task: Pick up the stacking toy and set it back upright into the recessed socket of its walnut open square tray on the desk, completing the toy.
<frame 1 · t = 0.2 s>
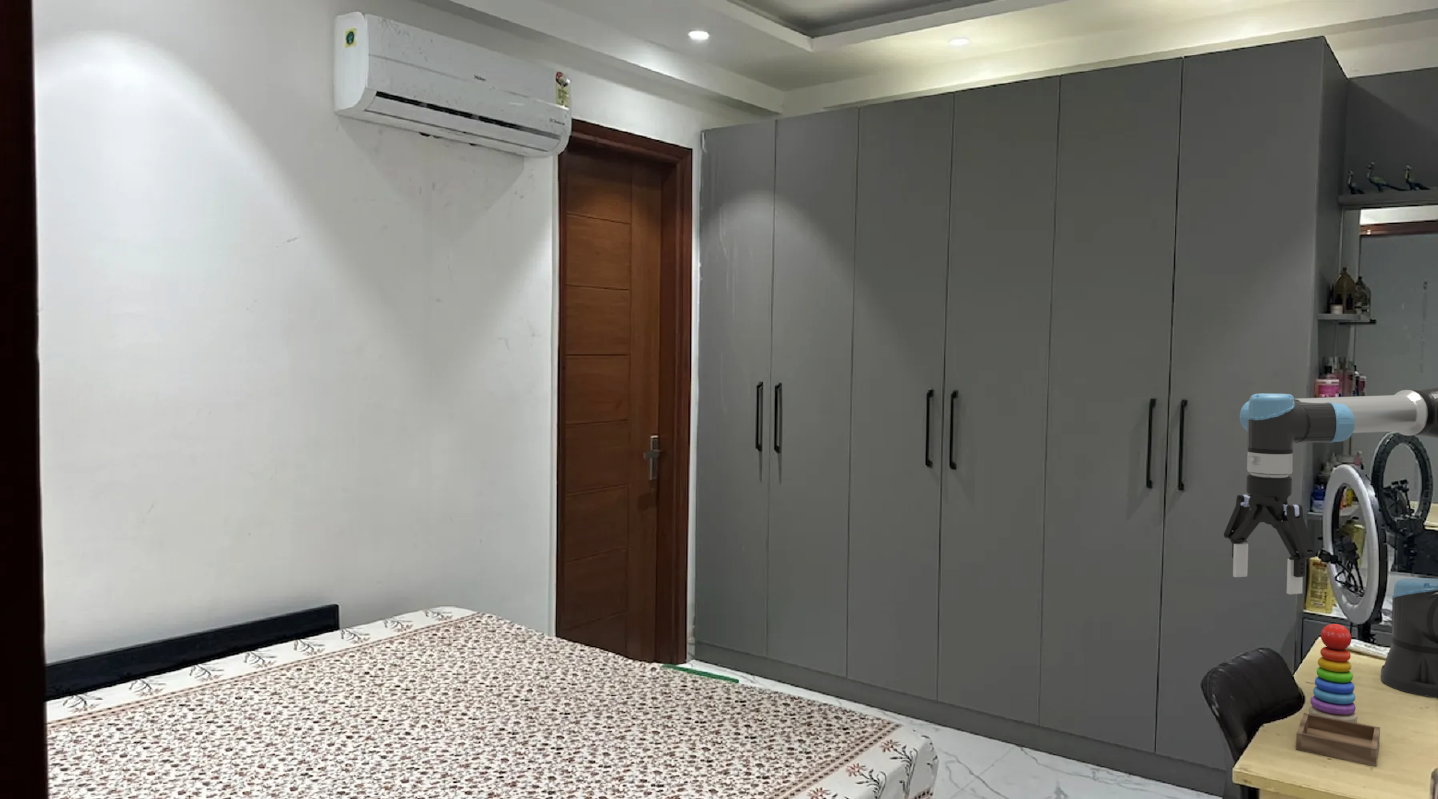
hand: (1266, 584, 186), 27 cm above the table, fingers open, 13 cm apart
stacking toy: (1332, 720, 190), on the table
walnut open square tray: (1338, 746, 177), on the table
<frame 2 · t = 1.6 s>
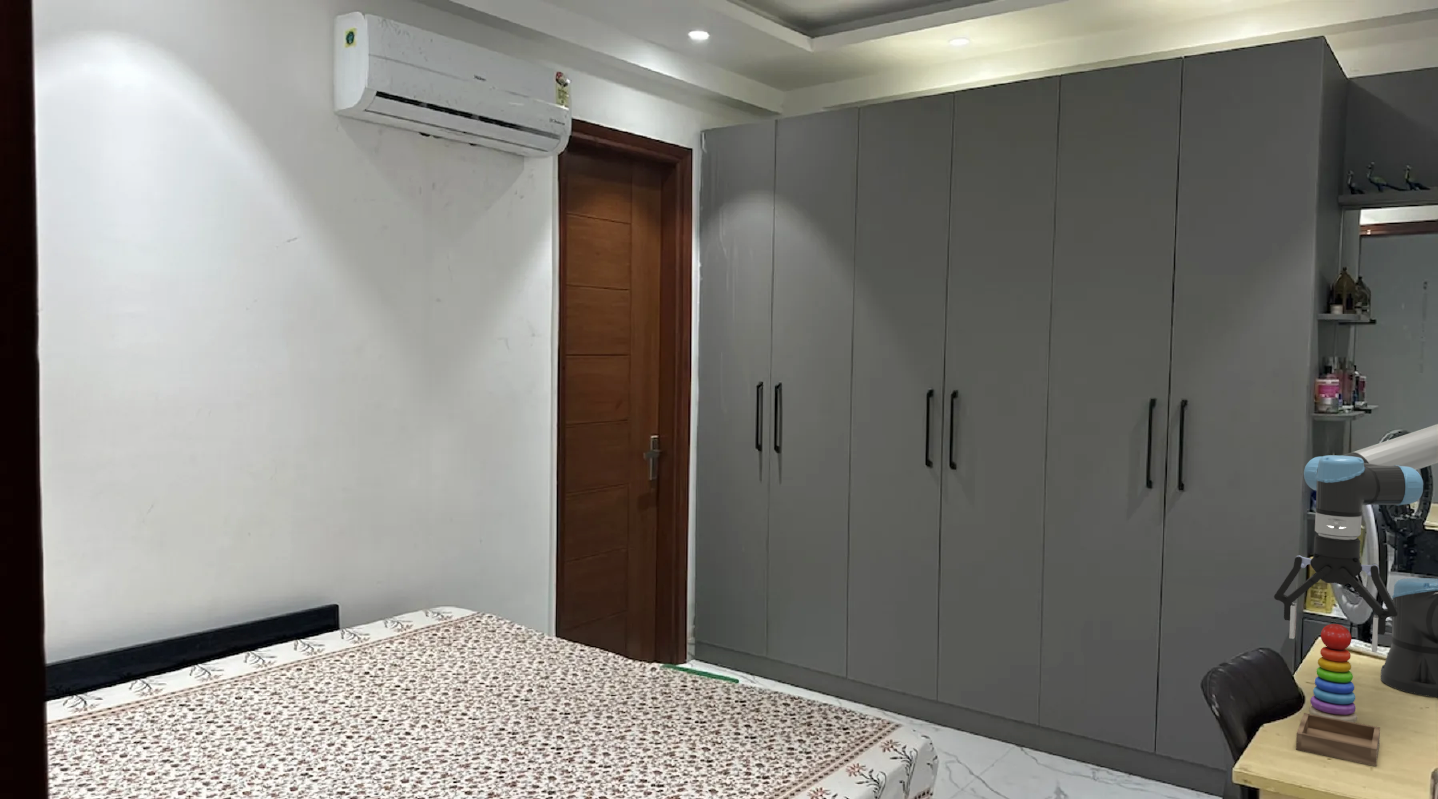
hand: (1332, 643, 190), 15 cm above the table, fingers open, 13 cm apart
nothing on the table moved.
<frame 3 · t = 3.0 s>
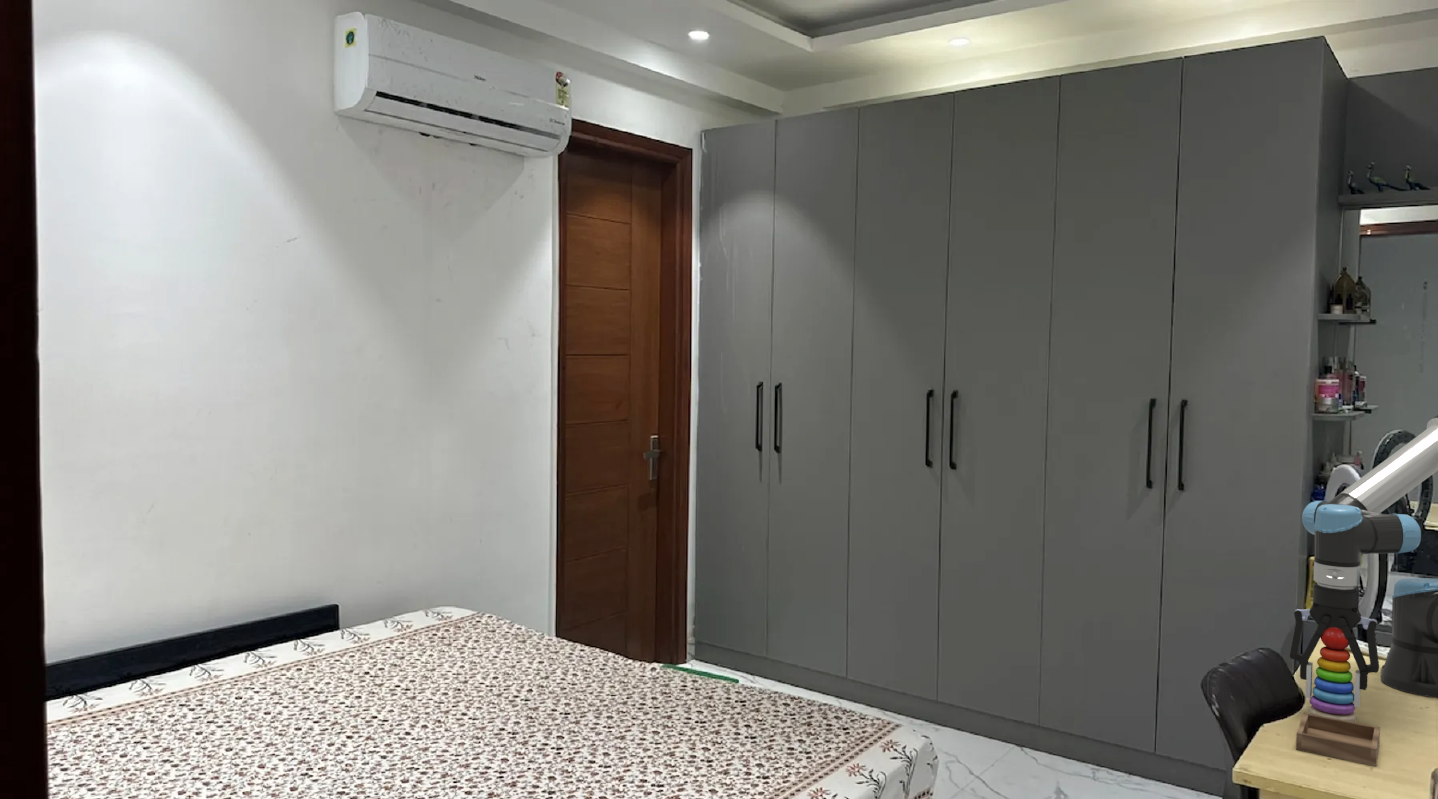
hand: (1332, 700, 190), 4 cm above the table, fingers closed on stacking toy, 7 cm apart
stacking toy: (1332, 720, 190), on the table, touching gripper
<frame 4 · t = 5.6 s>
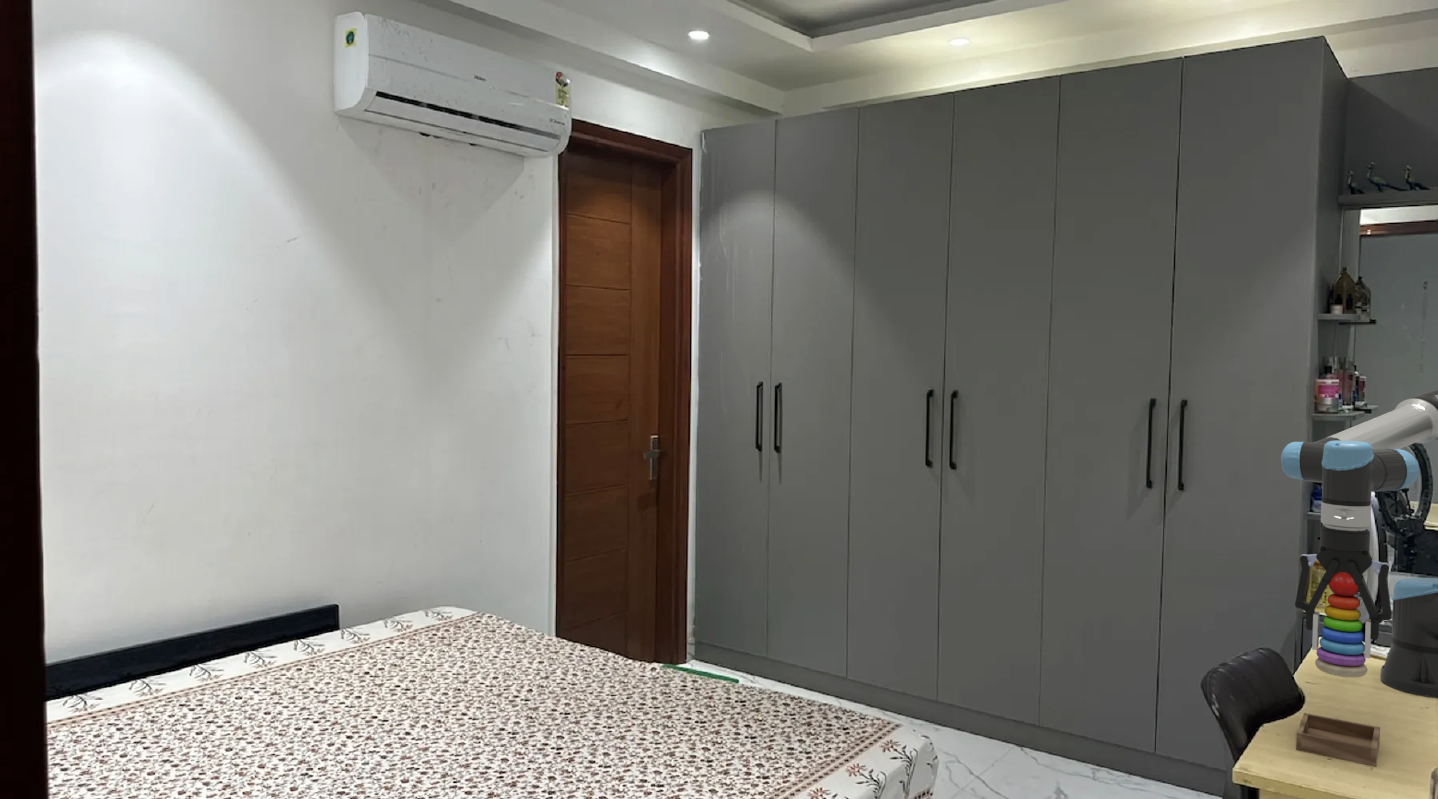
hand: (1341, 651, 176), 18 cm above the table, fingers closed on stacking toy, 7 cm apart
stacking toy: (1340, 673, 176), point 14 cm above the table, touching gripper
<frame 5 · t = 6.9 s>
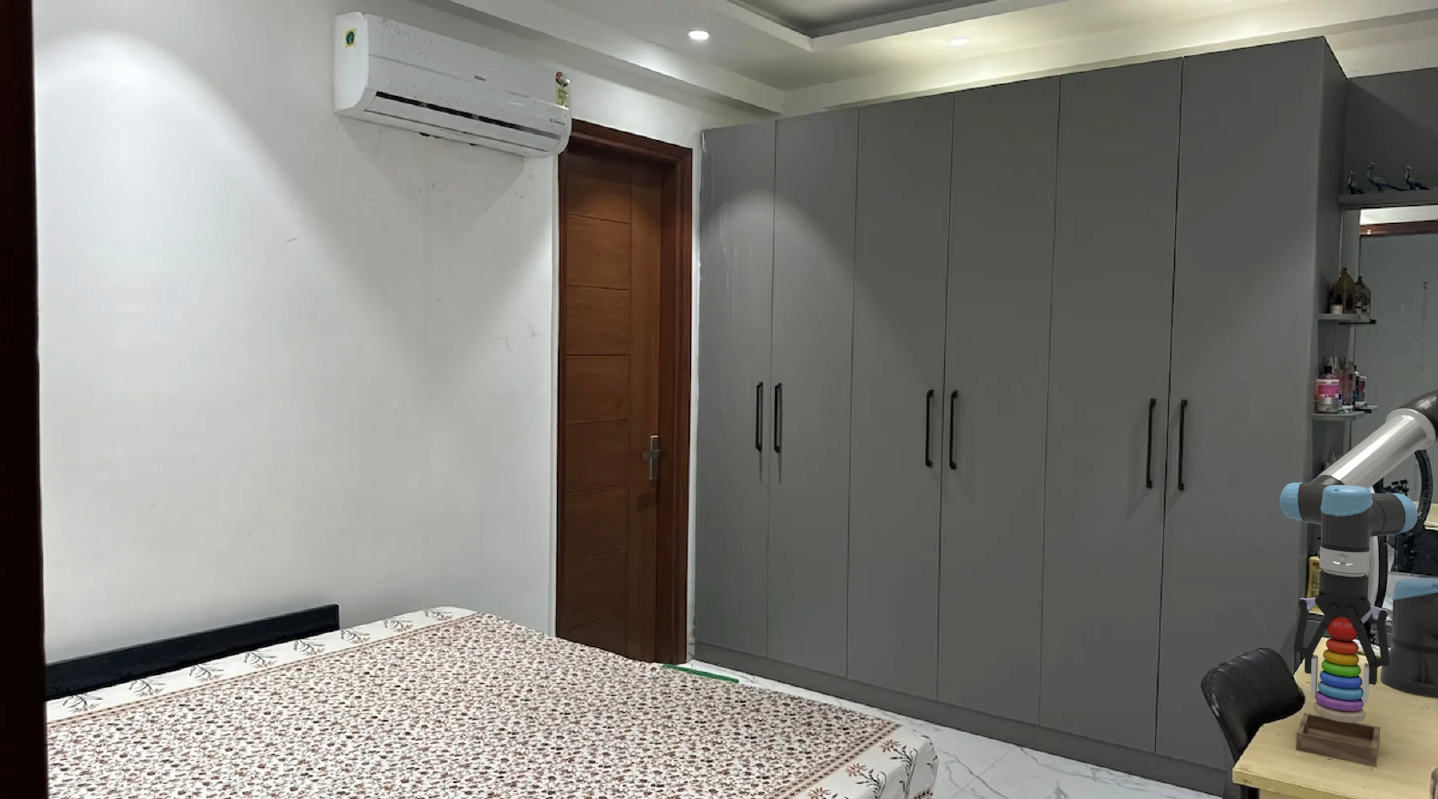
hand: (1339, 696, 177), 9 cm above the table, fingers closed on stacking toy, 7 cm apart
stacking toy: (1338, 717, 177), point 6 cm above the table, touching gripper
when the fingers open (5 cm above the table, at t = 8.1 s): stacking toy stays where it is, resting on walnut open square tray.
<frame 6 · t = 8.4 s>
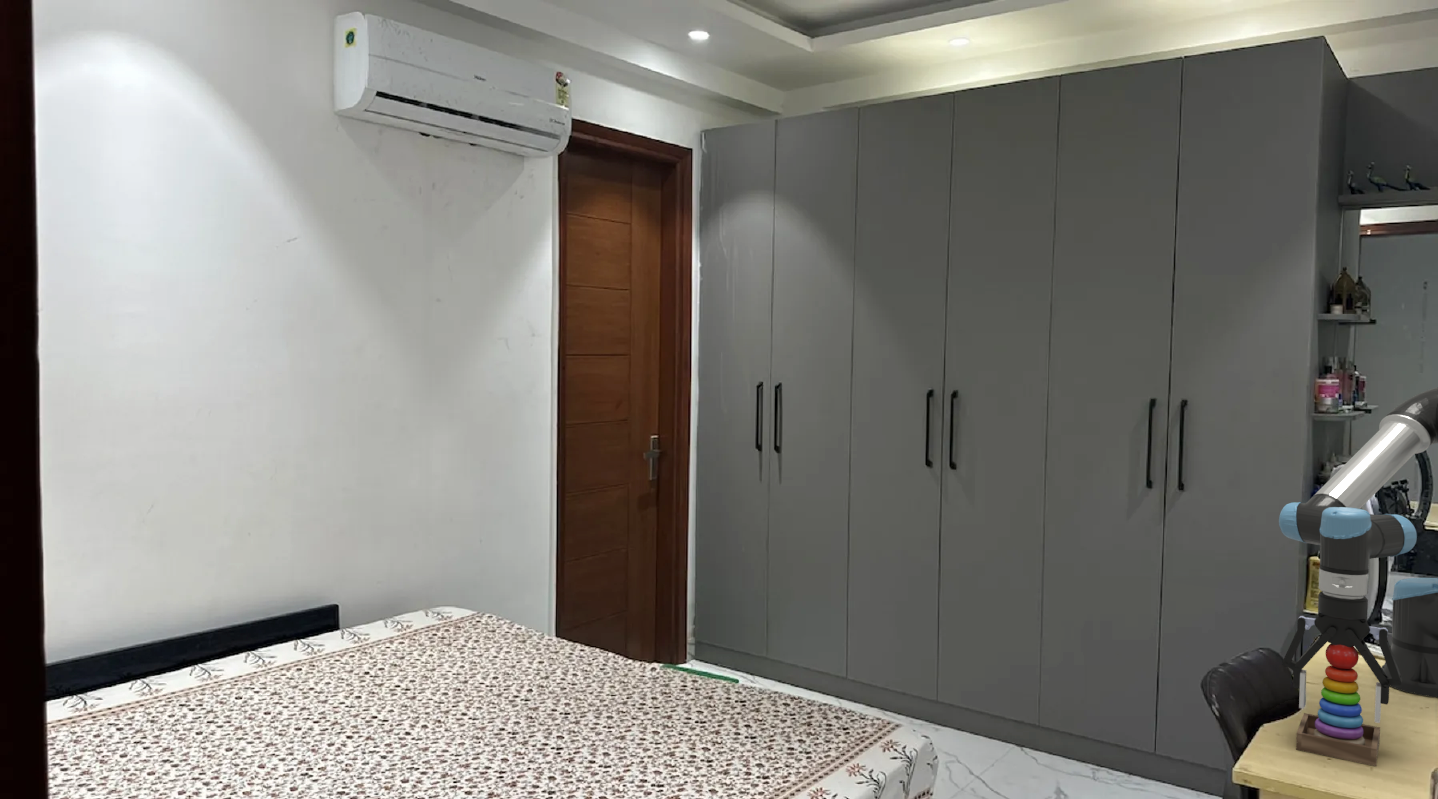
hand: (1339, 713, 177), 6 cm above the table, fingers open, 11 cm apart
stacking toy: (1338, 744, 177), resting on walnut open square tray
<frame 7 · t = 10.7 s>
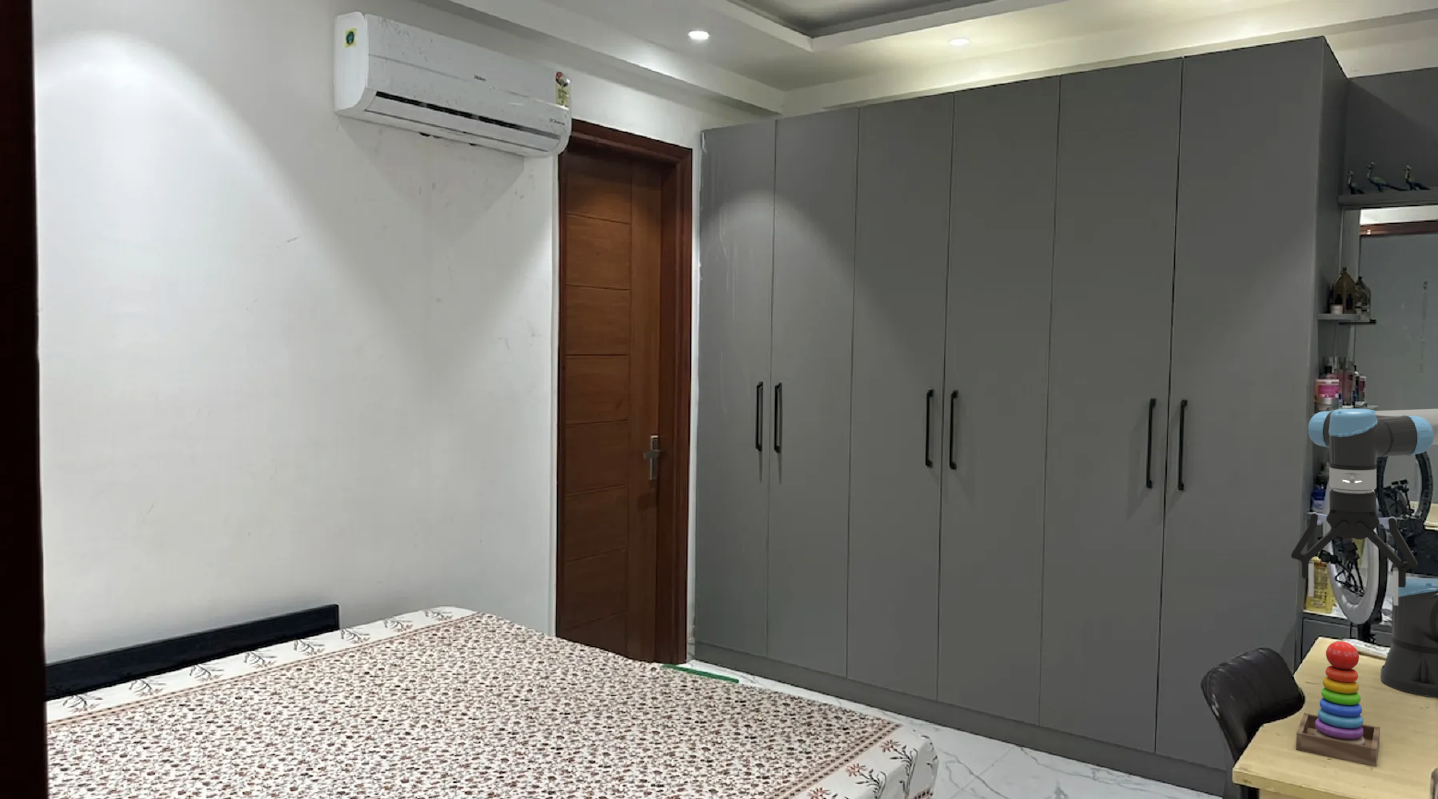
hand: (1352, 599, 187), 24 cm above the table, fingers open, 13 cm apart
nothing on the table moved.
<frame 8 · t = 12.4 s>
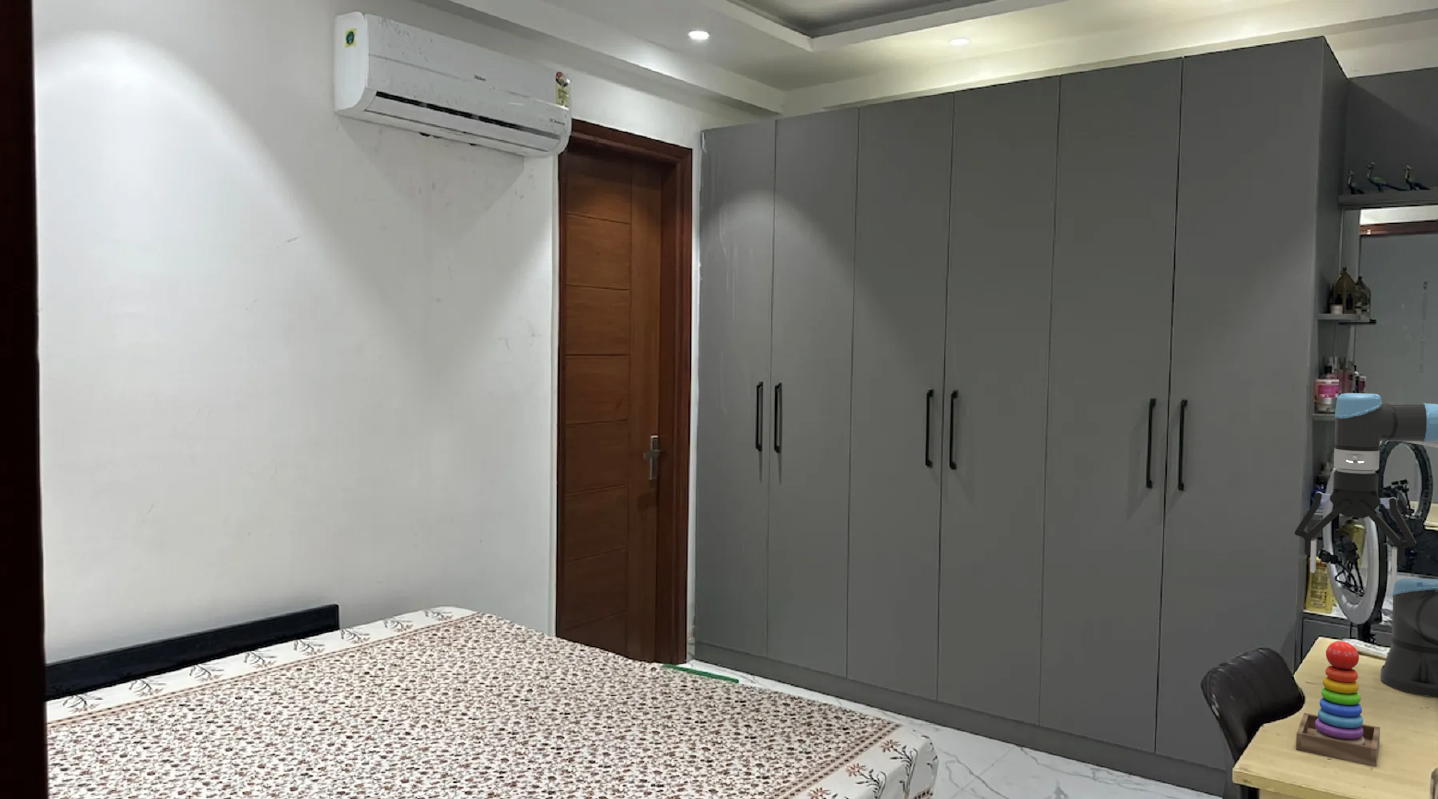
hand: (1352, 576, 195), 27 cm above the table, fingers open, 13 cm apart
nothing on the table moved.
at the end: stacking toy inside the target area on the walnut open square tray (0.3 cm from its centre), point 0.4 cm above the walnut open square tray's base; stacking toy tilted 0°; the gripper is holding nothing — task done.
